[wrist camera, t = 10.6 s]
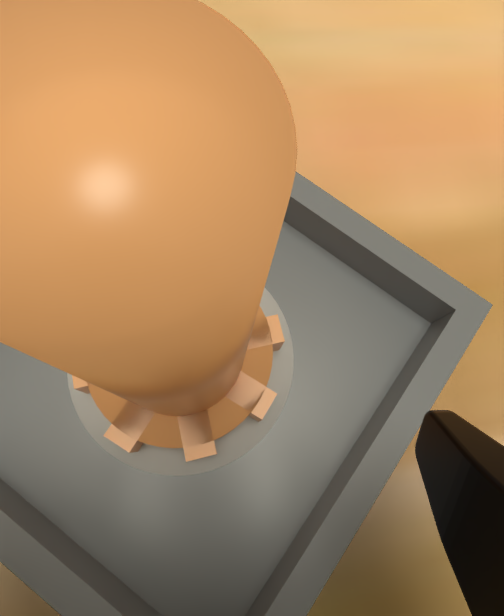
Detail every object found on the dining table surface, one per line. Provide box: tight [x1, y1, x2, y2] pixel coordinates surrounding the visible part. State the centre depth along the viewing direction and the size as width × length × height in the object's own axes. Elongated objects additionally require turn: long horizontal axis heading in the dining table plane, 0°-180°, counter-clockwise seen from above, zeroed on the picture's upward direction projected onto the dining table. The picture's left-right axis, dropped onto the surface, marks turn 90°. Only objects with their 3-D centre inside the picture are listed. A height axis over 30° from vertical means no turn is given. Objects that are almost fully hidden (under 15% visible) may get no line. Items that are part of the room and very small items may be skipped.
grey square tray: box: [0, 172, 492, 616], centre depth 17 cm, size 16×16×3 cm
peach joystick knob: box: [0, 0, 297, 462], centre depth 11 cm, size 7×7×13 cm
